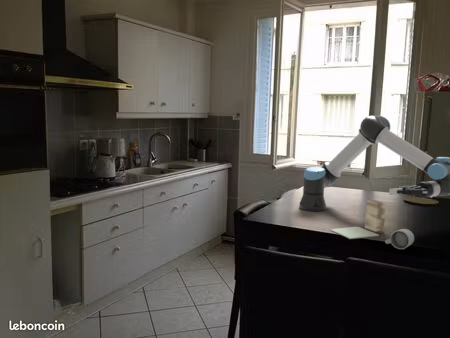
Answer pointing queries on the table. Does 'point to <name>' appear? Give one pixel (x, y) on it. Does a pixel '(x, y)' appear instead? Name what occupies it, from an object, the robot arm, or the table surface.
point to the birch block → (375, 216)
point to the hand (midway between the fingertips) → (390, 191)
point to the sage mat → (354, 232)
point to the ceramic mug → (401, 239)
